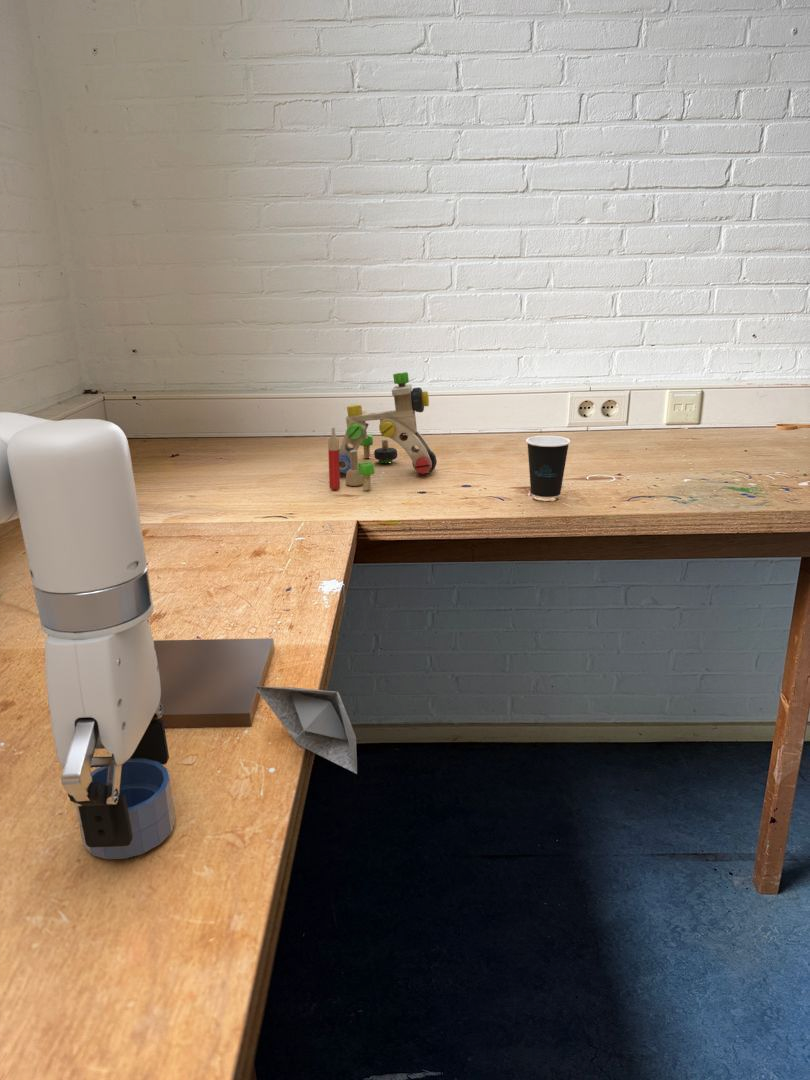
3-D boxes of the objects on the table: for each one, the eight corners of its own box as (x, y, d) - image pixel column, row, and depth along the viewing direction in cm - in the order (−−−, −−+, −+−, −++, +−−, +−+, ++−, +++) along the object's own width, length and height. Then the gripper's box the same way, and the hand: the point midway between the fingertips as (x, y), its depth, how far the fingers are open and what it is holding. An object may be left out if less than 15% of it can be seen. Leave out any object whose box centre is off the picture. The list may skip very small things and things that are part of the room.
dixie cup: (536, 506, 143) (539, 446, 140) (516, 494, 150) (518, 437, 147) (575, 501, 146) (578, 442, 142) (553, 490, 153) (556, 433, 149)
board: (85, 729, 77) (83, 716, 77) (135, 652, 92) (134, 640, 92) (251, 726, 77) (249, 713, 77) (274, 649, 92) (273, 638, 92)
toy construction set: (388, 499, 149) (386, 388, 142) (291, 484, 159) (285, 380, 152) (453, 467, 171) (454, 369, 164) (364, 456, 181) (361, 363, 174)
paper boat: (396, 723, 75) (371, 755, 66) (358, 773, 76) (328, 812, 67) (298, 644, 77) (260, 665, 68) (262, 695, 78) (220, 723, 69)
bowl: (69, 865, 60) (60, 815, 58) (101, 806, 66) (93, 758, 65) (162, 863, 60) (155, 813, 58) (184, 804, 66) (178, 757, 65)
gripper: (86, 556, 64) (119, 739, 70) (-18, 657, 48) (35, 884, 54) (179, 553, 64) (204, 736, 70) (106, 652, 48) (147, 880, 54)
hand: (131, 800), depth 62 cm, fingers open, 9 cm apart
